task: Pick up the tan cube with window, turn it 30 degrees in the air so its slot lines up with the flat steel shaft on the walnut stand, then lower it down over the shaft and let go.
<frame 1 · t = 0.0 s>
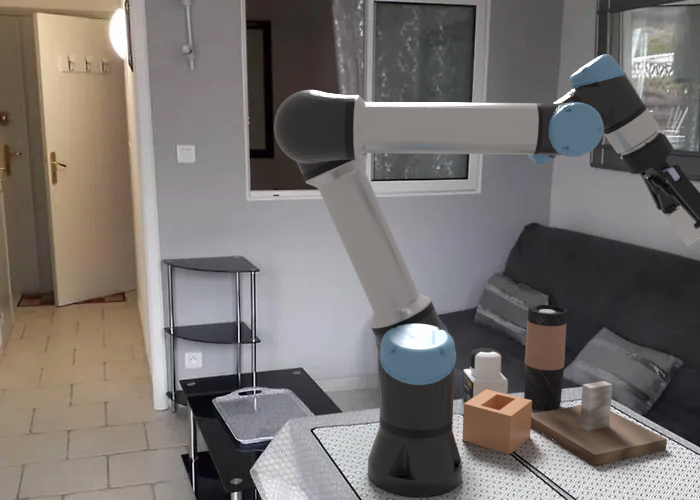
tan cube with window: (496, 438, 127), on the table
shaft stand: (593, 436, 128), on the table
medicine bottle: (483, 409, 141), on the table
travel mug: (541, 405, 143), on the table
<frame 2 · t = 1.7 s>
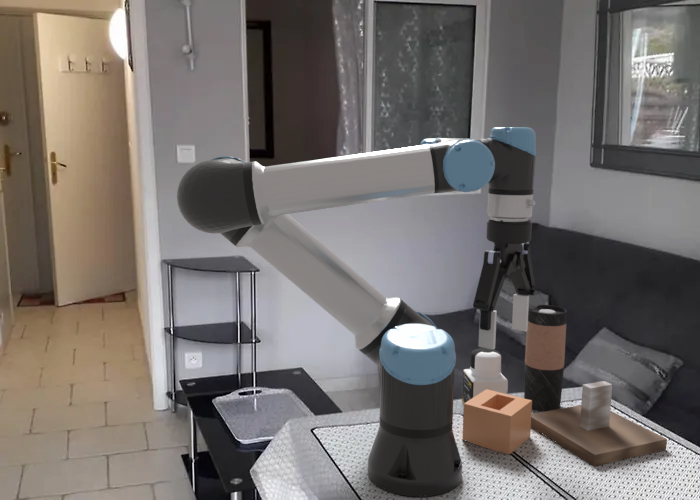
hand: (503, 338, 124), 19 cm above the table, tool pointing down, fingers open, 13 cm apart
nothing on the table moved.
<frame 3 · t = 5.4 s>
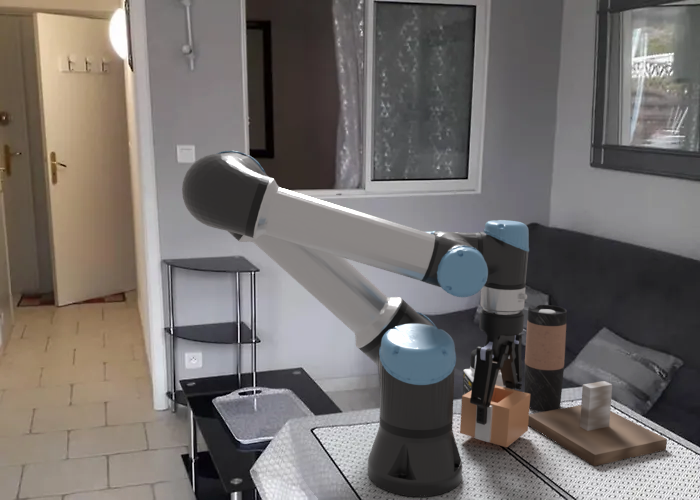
hand: (494, 430, 127), 2 cm above the table, tool pointing down, fingers closed on tan cube with window, 9 cm apart
tan cube with window: (494, 431, 127), point 1 cm above the table, touching gripper
everything else where it was.
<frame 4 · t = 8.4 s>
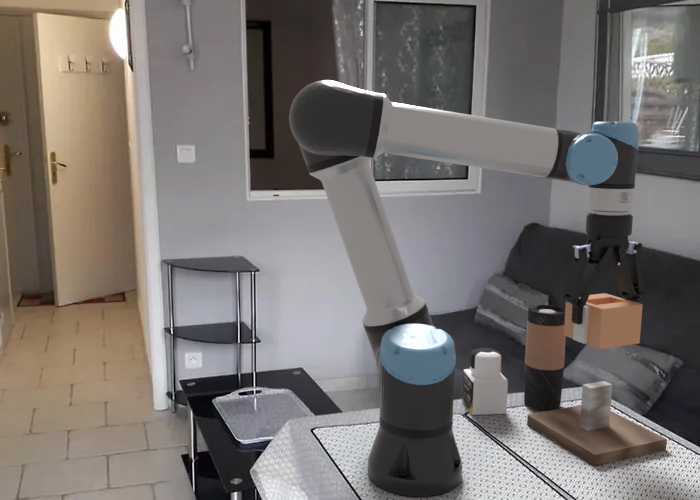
hand: (601, 338, 125), 19 cm above the table, tool pointing down, fingers closed on tan cube with window, 9 cm apart
tan cube with window: (601, 339, 125), point 18 cm above the table, touching gripper
everything else where it was.
when the fingers open (5 cm above the table, at t = 11.6 s): tan cube with window drops 3 cm, resting on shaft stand.
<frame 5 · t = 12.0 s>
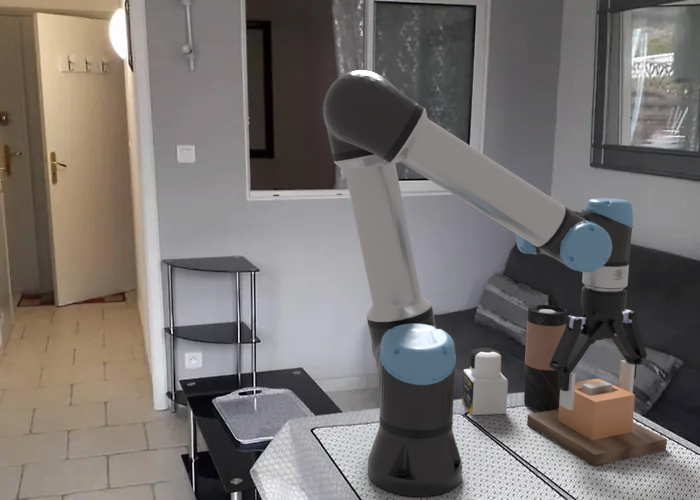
hand: (596, 401, 127), 7 cm above the table, tool pointing down, fingers open, 13 cm apart
tan cube with window: (594, 426, 128), point 2 cm above the table, touching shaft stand
everything else where it was.
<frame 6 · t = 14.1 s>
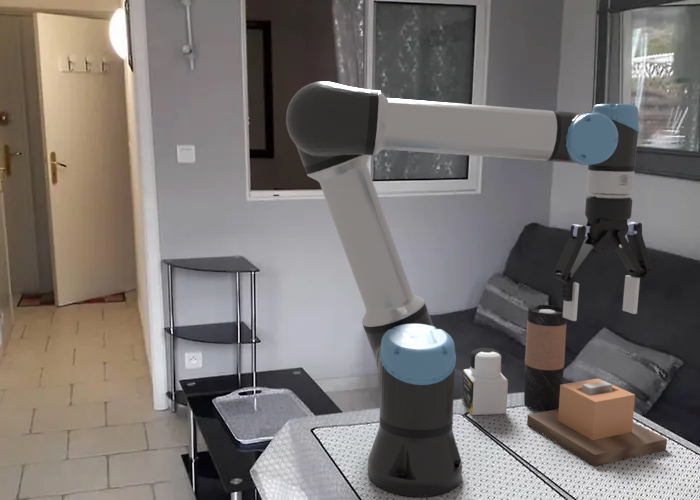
hand: (600, 315, 124), 23 cm above the table, tool pointing down, fingers open, 13 cm apart
nothing on the table moved.
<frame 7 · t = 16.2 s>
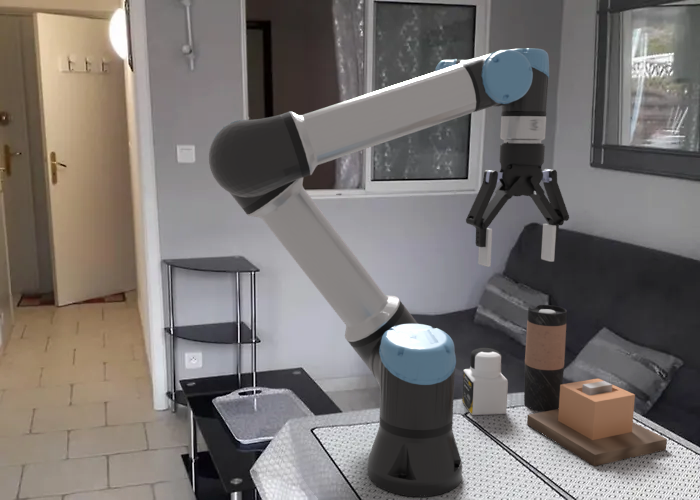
hand: (516, 262, 125), 32 cm above the table, tool pointing down, fingers open, 13 cm apart
nothing on the table moved.
at the end: tan cube with window 0.1 cm off-centre on the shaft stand, point 2.0 cm above the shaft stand's base; tan cube with window tilted 0°; the gripper is holding nothing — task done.
